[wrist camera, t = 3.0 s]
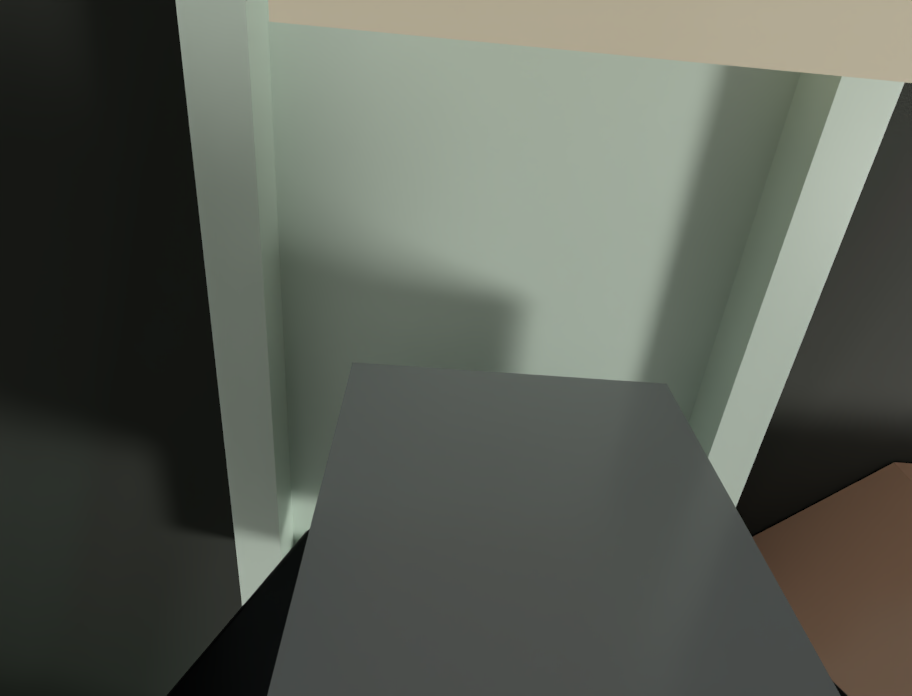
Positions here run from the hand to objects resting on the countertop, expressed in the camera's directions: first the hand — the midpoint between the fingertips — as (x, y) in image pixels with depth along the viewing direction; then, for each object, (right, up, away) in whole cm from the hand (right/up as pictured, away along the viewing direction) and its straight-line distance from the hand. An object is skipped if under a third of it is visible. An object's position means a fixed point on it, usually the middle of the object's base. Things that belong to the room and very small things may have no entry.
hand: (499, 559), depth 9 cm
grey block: (0, +1, +1) cm, 1 cm away
